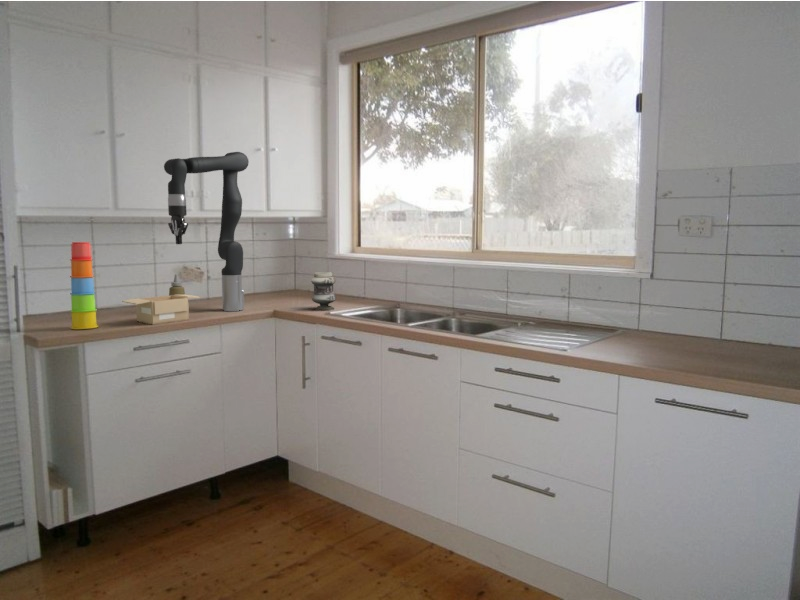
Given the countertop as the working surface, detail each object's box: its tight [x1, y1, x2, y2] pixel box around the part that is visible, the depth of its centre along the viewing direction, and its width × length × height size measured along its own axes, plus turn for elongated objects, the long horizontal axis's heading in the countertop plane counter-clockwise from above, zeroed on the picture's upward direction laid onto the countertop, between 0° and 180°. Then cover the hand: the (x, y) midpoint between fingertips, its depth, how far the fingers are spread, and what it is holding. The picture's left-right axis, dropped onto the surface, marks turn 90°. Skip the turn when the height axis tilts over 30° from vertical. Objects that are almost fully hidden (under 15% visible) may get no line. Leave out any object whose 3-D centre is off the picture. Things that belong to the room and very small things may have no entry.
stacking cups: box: [69, 241, 99, 330], centre depth 256 cm, size 10×10×35 cm
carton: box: [135, 295, 190, 326], centre depth 276 cm, size 17×15×10 cm
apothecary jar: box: [310, 271, 337, 311], centre depth 312 cm, size 12×12×18 cm
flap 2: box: [174, 294, 201, 299], centre depth 284 cm, size 1×12×6 cm
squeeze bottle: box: [168, 274, 186, 296], centre depth 299 cm, size 8×8×18 cm
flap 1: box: [121, 298, 150, 305], centre depth 267 cm, size 1×12×6 cm
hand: (178, 244), depth 285 cm, fingers closed
